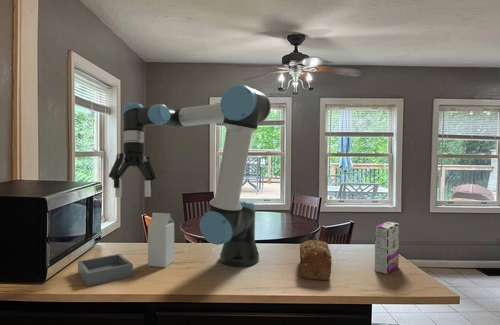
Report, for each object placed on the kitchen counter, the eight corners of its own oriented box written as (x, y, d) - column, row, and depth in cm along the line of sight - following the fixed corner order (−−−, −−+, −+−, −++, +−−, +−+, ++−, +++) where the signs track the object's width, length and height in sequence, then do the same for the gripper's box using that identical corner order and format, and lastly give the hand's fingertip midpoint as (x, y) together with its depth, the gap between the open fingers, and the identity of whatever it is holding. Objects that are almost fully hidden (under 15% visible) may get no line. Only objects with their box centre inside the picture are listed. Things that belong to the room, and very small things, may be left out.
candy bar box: (385, 263, 125) (386, 221, 125) (398, 266, 122) (400, 223, 121) (373, 271, 117) (374, 225, 117) (387, 275, 114) (389, 228, 113)
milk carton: (165, 267, 118) (165, 215, 118) (147, 266, 120) (147, 214, 119) (174, 261, 125) (174, 212, 125) (157, 260, 127) (157, 211, 126)
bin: (132, 275, 111) (132, 264, 110) (87, 286, 102) (87, 273, 102) (119, 264, 122) (119, 253, 121) (77, 272, 113) (77, 261, 113)
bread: (331, 282, 108) (332, 252, 107) (298, 279, 109) (299, 250, 109) (327, 263, 126) (328, 237, 126) (299, 261, 128) (300, 235, 127)
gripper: (151, 147, 142) (152, 196, 140) (98, 140, 121) (98, 197, 119) (164, 145, 138) (164, 196, 136) (111, 137, 117) (111, 196, 115)
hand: (133, 197), depth 127 cm, fingers open, 13 cm apart
